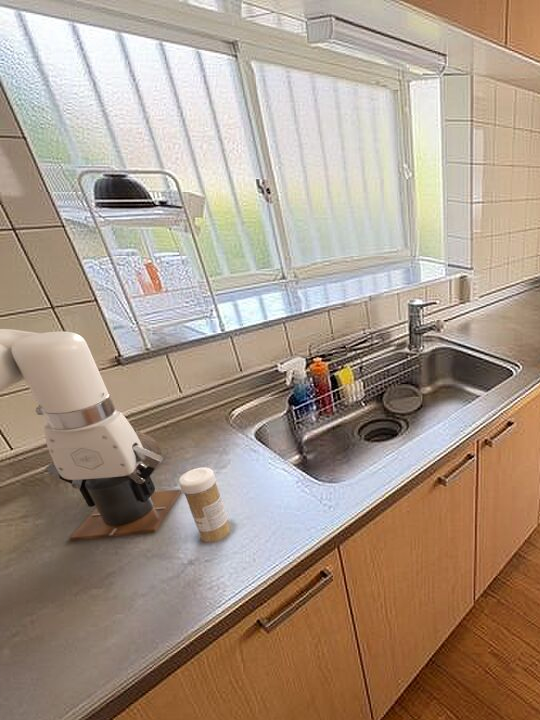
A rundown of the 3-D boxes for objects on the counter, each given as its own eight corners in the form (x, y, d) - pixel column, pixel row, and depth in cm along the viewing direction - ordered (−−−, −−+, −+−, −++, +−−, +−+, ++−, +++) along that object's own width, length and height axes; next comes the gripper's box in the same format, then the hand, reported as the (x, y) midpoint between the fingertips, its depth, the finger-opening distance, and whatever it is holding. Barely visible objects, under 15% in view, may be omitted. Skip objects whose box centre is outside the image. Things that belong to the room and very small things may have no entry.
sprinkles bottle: (197, 538, 72) (172, 477, 66) (225, 522, 75) (204, 462, 69) (209, 551, 70) (185, 489, 64) (238, 534, 73) (218, 473, 67)
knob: (93, 528, 71) (73, 490, 67) (118, 500, 77) (100, 463, 73) (140, 523, 72) (122, 486, 68) (161, 496, 78) (146, 460, 74)
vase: (158, 453, 91) (144, 419, 87) (170, 466, 88) (157, 431, 84) (117, 468, 86) (101, 433, 82) (129, 482, 83) (112, 446, 79)
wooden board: (70, 546, 69) (66, 539, 68) (111, 500, 78) (107, 493, 78) (155, 537, 72) (152, 530, 71) (184, 493, 81) (182, 486, 80)
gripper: (-9, 428, 60) (46, 520, 68) (132, 421, 63) (169, 509, 72) (32, 402, 66) (79, 489, 75) (158, 397, 70) (189, 480, 78)
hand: (122, 498), depth 73 cm, fingers closed on knob, 6 cm apart
